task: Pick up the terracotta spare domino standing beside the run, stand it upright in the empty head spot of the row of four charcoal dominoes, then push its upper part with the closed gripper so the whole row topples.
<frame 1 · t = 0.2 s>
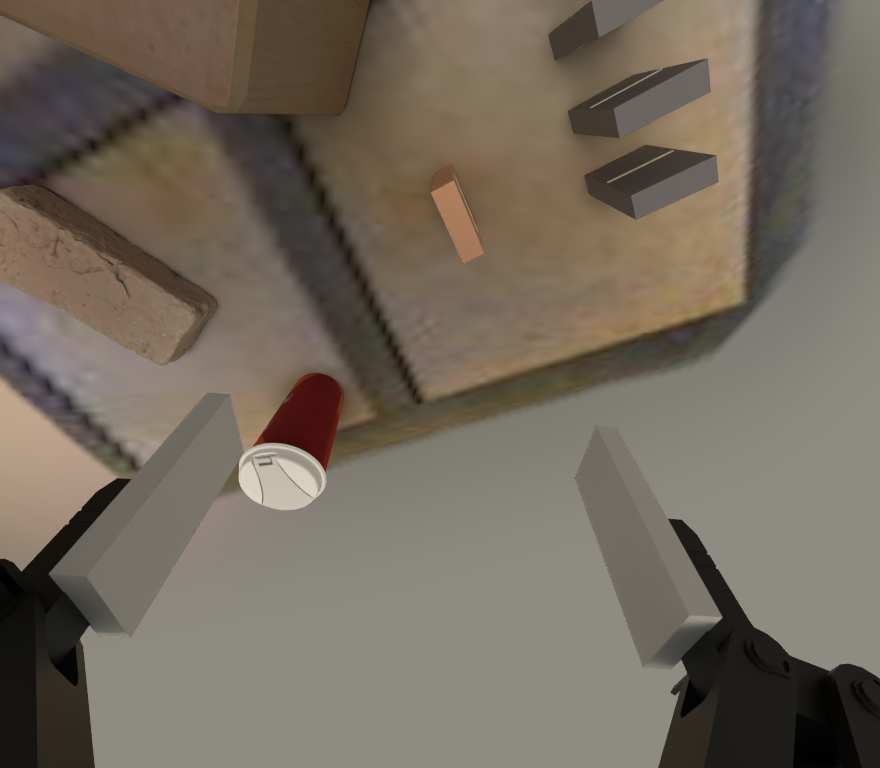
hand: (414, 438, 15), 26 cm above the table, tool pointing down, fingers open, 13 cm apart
domino 4: (616, 170, 33), on the table
domino 3: (602, 104, 30), on the table
domino 2: (585, 27, 28), on the table
head domino: (455, 198, 34), on the table
brick: (126, 274, 39), on the table
wooden block: (294, 8, 28), on the table
paper cup: (320, 392, 46), on the table
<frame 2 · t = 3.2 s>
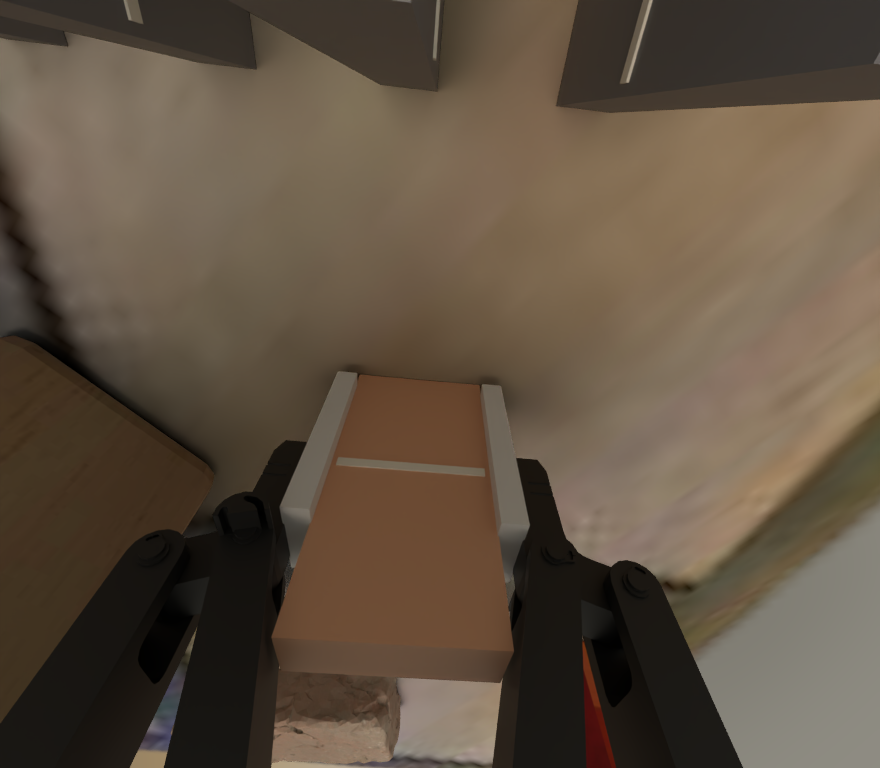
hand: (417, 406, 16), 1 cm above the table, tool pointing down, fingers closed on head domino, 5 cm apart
head domino: (418, 395, 17), on the table, touching gripper
brick: (306, 681, 35), on the table
wooden block: (82, 447, 19), on the table
paper cup: (554, 650, 30), on the table
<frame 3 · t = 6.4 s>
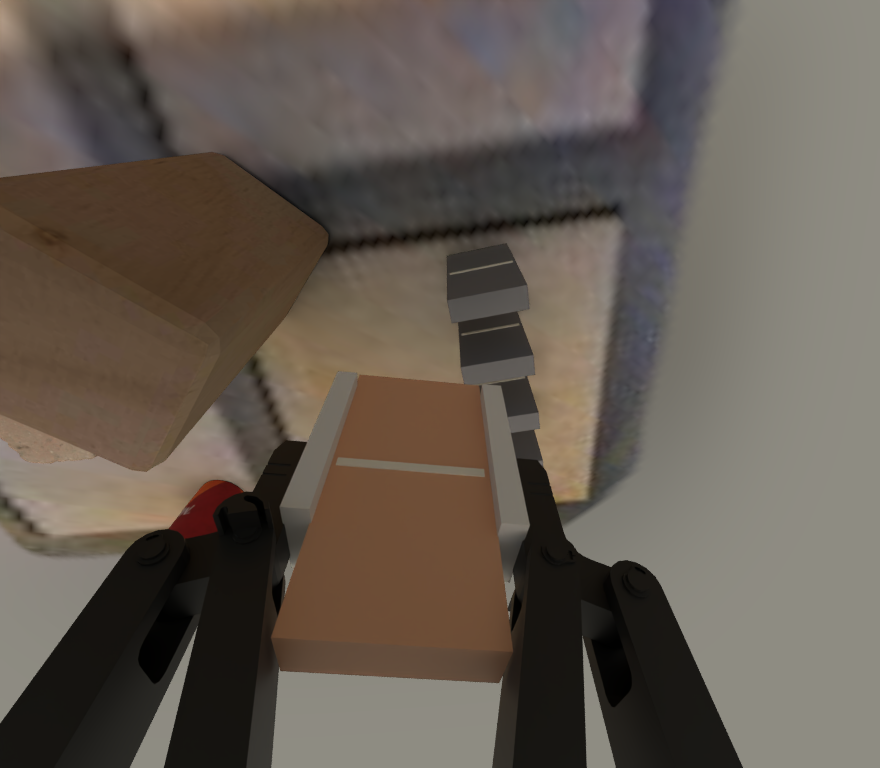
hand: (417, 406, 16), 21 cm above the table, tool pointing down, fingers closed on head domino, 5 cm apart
domino 4: (499, 400, 41), on the table
domino 3: (493, 360, 39), on the table
domino 2: (486, 313, 36), on the table
head domino: (418, 395, 17), point 20 cm above the table, touching gripper
brick: (48, 377, 41), on the table
domino 1: (477, 259, 33), on the table
wooden block: (255, 242, 33), on the table
paper cup: (224, 494, 50), on the table
when the fingers open (2 cm above the table, at t = 9.8 s): head domino stays where it is, on the table.
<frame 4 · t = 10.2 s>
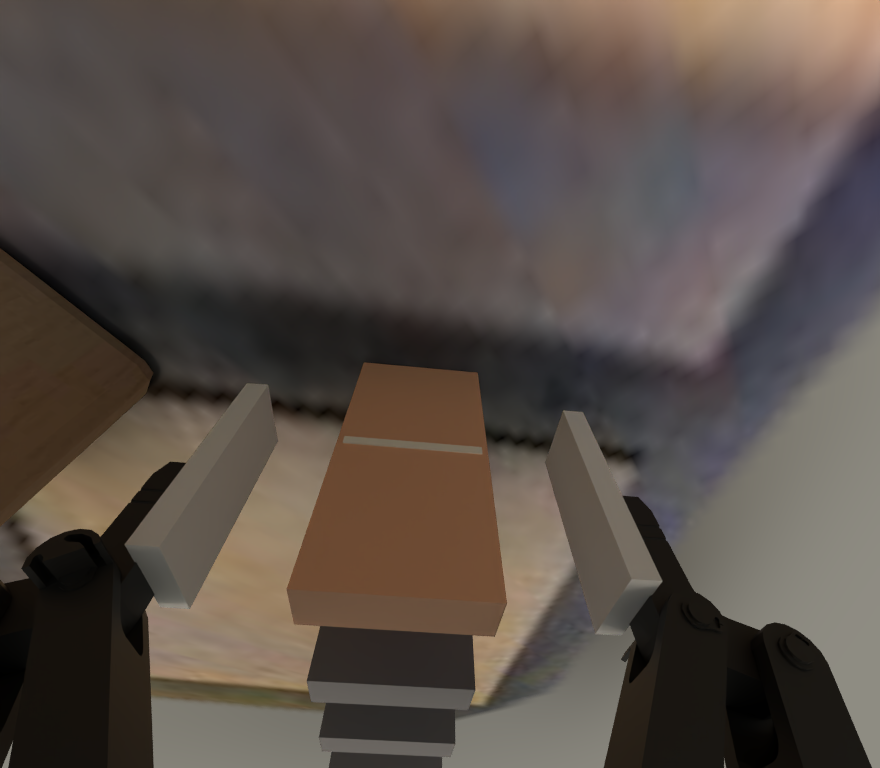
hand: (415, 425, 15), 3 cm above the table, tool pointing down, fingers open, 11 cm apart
domino 3: (404, 571, 26), on the table
domino 2: (408, 523, 23), on the table
head domino: (419, 382, 18), on the table
domino 1: (413, 462, 20), on the table
wooden block: (5, 343, 17), on the table
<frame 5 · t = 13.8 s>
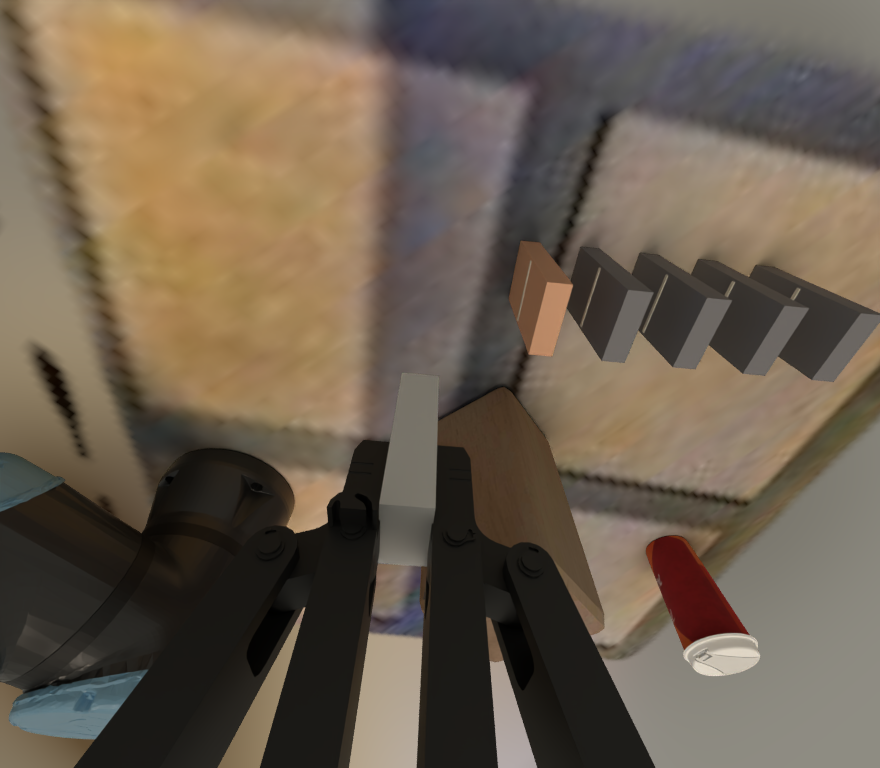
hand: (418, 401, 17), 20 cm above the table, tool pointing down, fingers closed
domino 4: (749, 294, 34), on the table
domino 3: (693, 288, 34), on the table
domino 2: (637, 283, 34), on the table
head domino: (523, 271, 34), on the table
domino 1: (581, 277, 34), on the table
wooden block: (488, 431, 44), on the table
paper cup: (666, 546, 55), on the table
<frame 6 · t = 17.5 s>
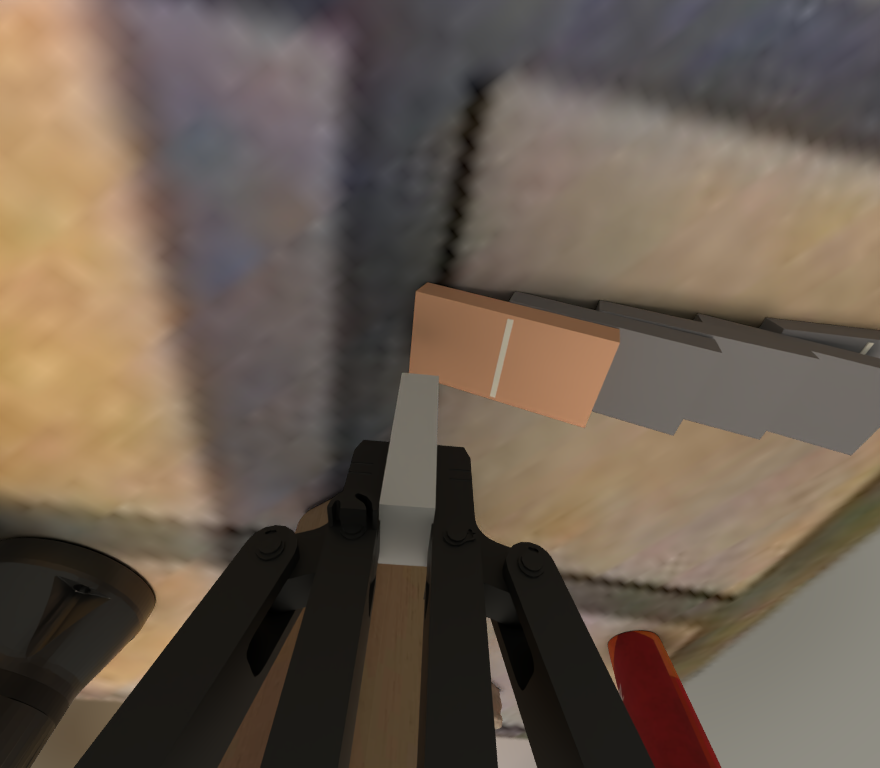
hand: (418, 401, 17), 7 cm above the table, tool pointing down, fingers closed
domino 4: (749, 361, 23), point 1 cm above the table, tilted 89°, touching domino 3
domino 3: (678, 357, 23), point 1 cm above the table, tilted 72°, touching domino 2, domino 4
domino 2: (584, 345, 23), point 1 cm above the table, tilted 72°, touching domino 1, domino 3
head domino: (417, 329, 22), point 1 cm above the table, tilted 70°, touching domino 1
brick: (444, 669, 49), on the table
domino 1: (502, 337, 22), point 1 cm above the table, tilted 70°, touching domino 2, head domino
wooden block: (384, 519, 33), on the table
paper cup: (633, 640, 44), on the table
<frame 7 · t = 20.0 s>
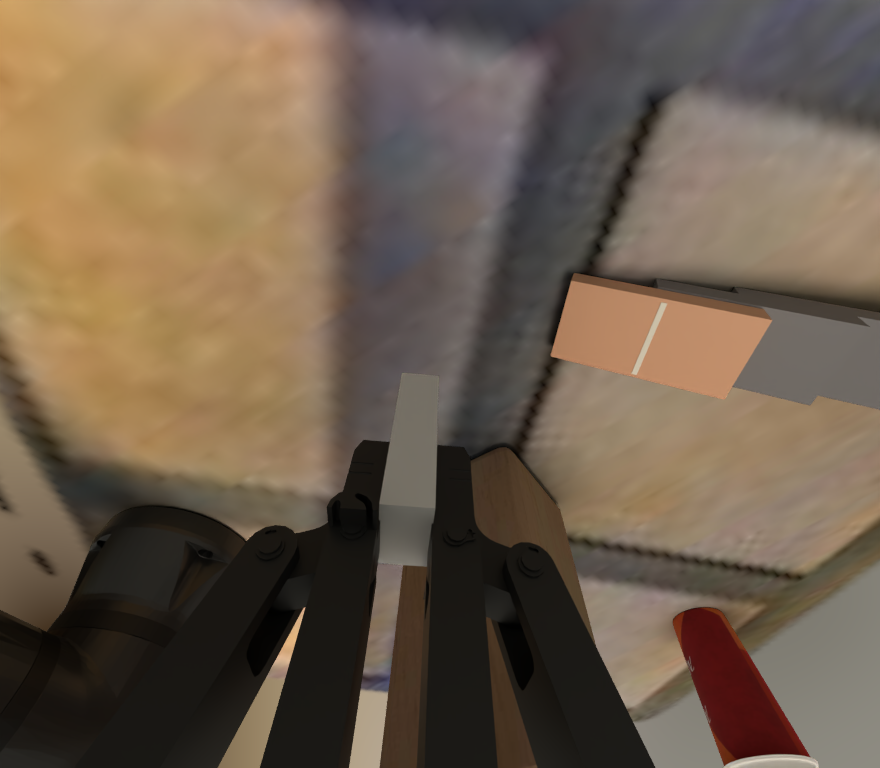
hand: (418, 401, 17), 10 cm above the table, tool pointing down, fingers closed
domino 2: (717, 329, 25), point 1 cm above the table, tilted 71°, touching domino 1, domino 3
head domino: (561, 315, 25), point 1 cm above the table, tilted 70°, touching domino 1
domino 1: (641, 321, 25), point 1 cm above the table, tilted 70°, touching domino 2, head domino
wooden block: (486, 494, 35), on the table
paper cup: (697, 617, 46), on the table
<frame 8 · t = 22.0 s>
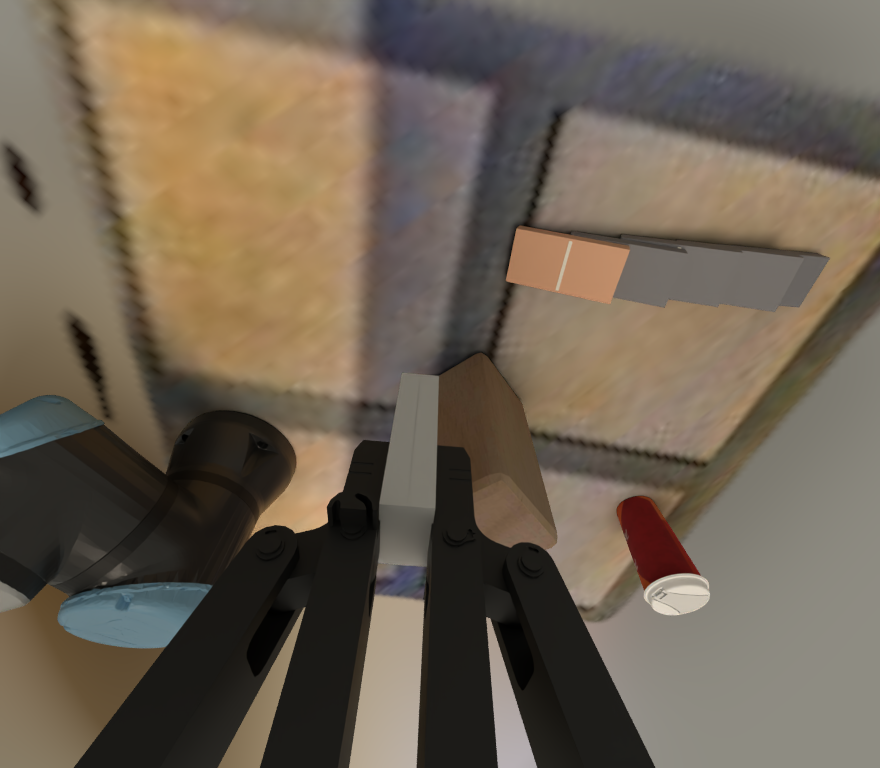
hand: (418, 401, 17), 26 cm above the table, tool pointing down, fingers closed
domino 4: (710, 271, 39), point 1 cm above the table, tilted 89°, touching domino 3
domino 3: (667, 267, 39), point 1 cm above the table, tilted 72°, touching domino 4
domino 2: (613, 262, 39), point 1 cm above the table, tilted 72°, touching domino 1
head domino: (512, 253, 38), point 1 cm above the table, tilted 71°
domino 1: (564, 259, 39), point 1 cm above the table, tilted 71°, touching domino 2
wooden block: (469, 395, 49), on the table
paper cup: (635, 507, 60), on the table
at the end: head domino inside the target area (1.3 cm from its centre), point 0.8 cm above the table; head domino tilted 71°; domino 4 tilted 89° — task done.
